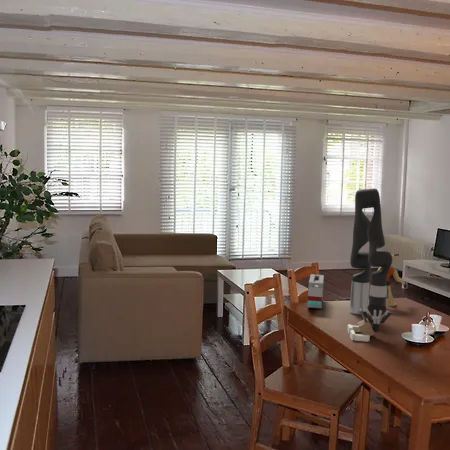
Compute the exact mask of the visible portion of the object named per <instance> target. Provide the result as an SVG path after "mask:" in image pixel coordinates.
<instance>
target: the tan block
mask: <svg viewBox="0 0 450 450" xmlns="http://www.w3.org/2000/svg"><path fill="white" fill-rule="evenodd" d="M359 311H360V313H361V317H362V320H359V321H357V326H358V327H359V329H360V331H361V332H360V334H361V335H369V336H370V337H371V336H374V335H375V332H374V330H373V329H372V327H373V325H371V324H372V323H371V322H370V321H369V320H368V319H367V317H366V316H365V315H364V313H363V311H362V309H361V308H360V309H359Z"/></svg>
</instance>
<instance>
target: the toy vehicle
mask: <svg viewBox="0 0 450 450" xmlns="http://www.w3.org/2000/svg"><path fill="white" fill-rule="evenodd" d="M324 279H325V276H324V274H313V273H311V274H310V276H309V280H308V291H307V292H308V293H307V306H306V307H307V308H310V309H311V308H312V309H323V299H324V296H323V295H324V287H325V285H324Z"/></svg>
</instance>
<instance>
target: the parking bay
mask: <svg viewBox="0 0 450 450" xmlns="http://www.w3.org/2000/svg"><path fill="white" fill-rule="evenodd" d="M347 332H348V335H349V337H350V339H351V341H353V340H354V341H355V342H368V341H369V342H370V337H371V336H369V335H362V334H360V333H361V331H360V329H359V327H358V325H352V324H347ZM356 332H357V333H356ZM358 333H359V334H358Z"/></svg>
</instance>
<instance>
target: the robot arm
mask: <svg viewBox="0 0 450 450" xmlns="http://www.w3.org/2000/svg"><path fill="white" fill-rule="evenodd" d="M354 196H355V197H354V221H353V230H352V246H351V253H350V260H349V263H350V267H351V268H354V269H359V270H360V269H361V270H362V269H363V271H361V272H358V273H355V274H353V275H352V276H351V287H350V289H351V290H350V304H349V312H350V314H353V315H359V316H360V315H361V313H360V311H359V309H360V308H361V309H362V311H363V313H364V315H365V317H366V319H368V320H369V322H370V324H372V329H373V331H374V333H378V332H379V331H380V324H383V323H385V322H386V321H387V320H388V319H389V317H391V315H392V313H391V312H390V311H389V310H387V295H388V294H387V292H388V291H387V290H388V287H387V286H386V285H387V276H388V273H389V270H390V267H392V263H393V260H392V255H393V254H391V252H390V251H386V250H385V251H381V250H379V251H377V250H378V249H381V248H383V247H385V245H386V240H385V236H384V231H383V225H382V224H383V223H382V208H381V196H380V193H379V190H378V189H377V188H363V189H358V190H356V192H355V195H354ZM365 209H373V216H372V218H371V219H369V218H368V217H367V215H366V214H365V213H364V211H363V210H365ZM366 244H368V245H369V246H368V251H361V249H362V248H363V247H364V246H365V245H366ZM372 267H373V268H374V267H375V268H379V267H381V268H380V270H378V269H377V270H378V271H377V270H376V271H373V272H371V268H372ZM369 314H370V316H371V317H370V316H369ZM361 316H362V315H361Z"/></svg>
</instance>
